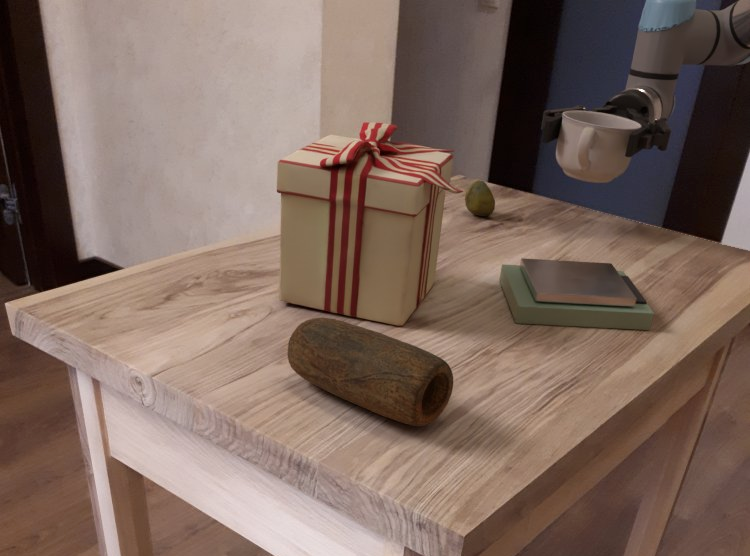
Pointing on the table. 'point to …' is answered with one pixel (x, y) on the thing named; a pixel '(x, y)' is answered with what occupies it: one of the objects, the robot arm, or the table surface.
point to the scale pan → (576, 282)
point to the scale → (571, 307)
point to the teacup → (594, 145)
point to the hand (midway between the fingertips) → (587, 138)
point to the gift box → (362, 223)
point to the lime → (480, 199)
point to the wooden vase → (371, 370)
